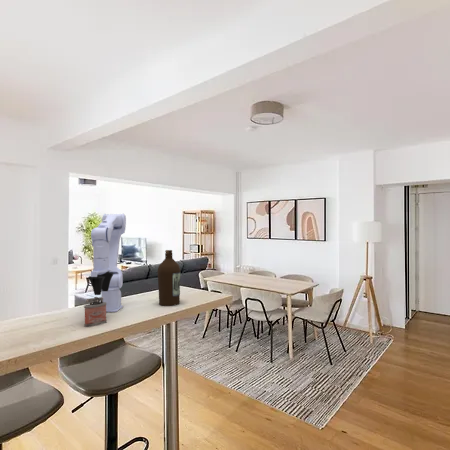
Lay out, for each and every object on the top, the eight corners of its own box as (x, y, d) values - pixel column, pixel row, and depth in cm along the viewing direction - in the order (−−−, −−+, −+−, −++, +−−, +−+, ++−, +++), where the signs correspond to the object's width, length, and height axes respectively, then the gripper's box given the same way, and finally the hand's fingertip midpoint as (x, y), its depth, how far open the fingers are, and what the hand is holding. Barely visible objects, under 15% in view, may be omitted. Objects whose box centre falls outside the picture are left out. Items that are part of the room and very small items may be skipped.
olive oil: (153, 305, 145) (152, 251, 145) (165, 300, 155) (164, 249, 155) (174, 307, 142) (173, 251, 142) (184, 301, 152) (184, 249, 152)
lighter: (104, 320, 122) (104, 294, 122) (108, 322, 120) (107, 296, 120) (82, 325, 116) (82, 298, 116) (86, 327, 114) (86, 299, 114)
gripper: (104, 259, 117) (104, 296, 116) (117, 256, 131) (118, 289, 131) (85, 259, 117) (85, 296, 116) (100, 256, 131) (101, 289, 131)
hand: (101, 293), depth 124 cm, fingers open, 7 cm apart
